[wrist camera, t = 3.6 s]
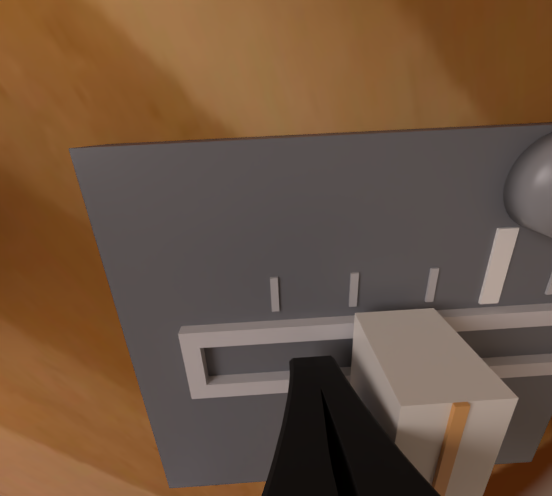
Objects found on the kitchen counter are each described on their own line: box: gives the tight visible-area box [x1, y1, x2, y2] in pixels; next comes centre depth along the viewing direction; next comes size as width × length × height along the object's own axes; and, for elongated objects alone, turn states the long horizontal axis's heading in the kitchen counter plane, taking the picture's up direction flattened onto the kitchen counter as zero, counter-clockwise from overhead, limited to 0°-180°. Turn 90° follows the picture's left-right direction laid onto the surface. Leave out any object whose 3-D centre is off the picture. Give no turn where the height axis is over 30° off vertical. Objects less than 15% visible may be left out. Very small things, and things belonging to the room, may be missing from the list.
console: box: [69, 122, 552, 488], centre depth 11 cm, size 14×16×3 cm
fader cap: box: [350, 308, 519, 496], centre depth 8 cm, size 4×2×4 cm, turn 3°
